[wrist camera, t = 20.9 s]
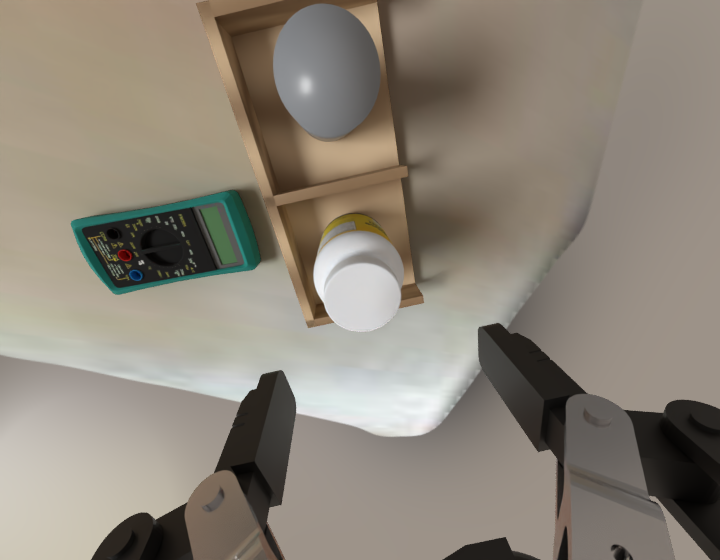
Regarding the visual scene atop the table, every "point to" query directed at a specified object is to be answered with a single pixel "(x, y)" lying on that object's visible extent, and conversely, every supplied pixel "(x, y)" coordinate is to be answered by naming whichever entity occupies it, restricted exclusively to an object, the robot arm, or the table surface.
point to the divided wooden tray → (308, 144)
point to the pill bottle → (358, 273)
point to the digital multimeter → (169, 242)
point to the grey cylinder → (326, 70)
